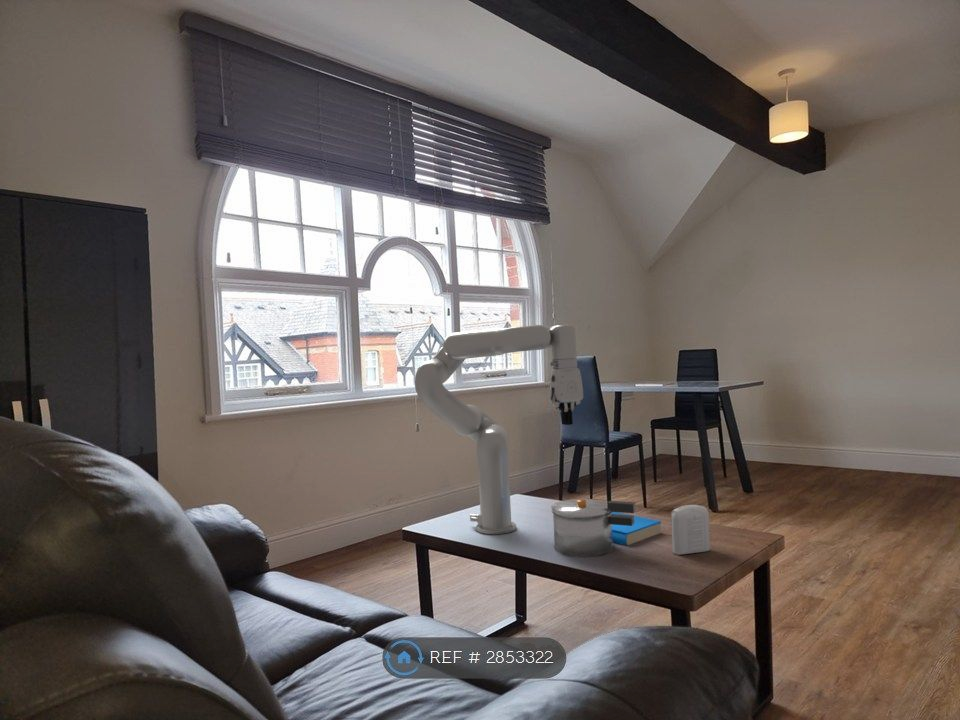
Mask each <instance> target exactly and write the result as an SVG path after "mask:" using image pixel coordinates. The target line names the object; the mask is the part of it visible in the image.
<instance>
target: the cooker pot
mask: <svg viewBox="0 0 960 720" xmlns="http://www.w3.org/2000/svg"><path fill="white" fill-rule="evenodd" d="M552 515H553V517H552V518H553V538H554V539H553V540H554V542H553V543H554V544H553V545H554V550H555V551H556V552H557V551H558V552H557V553H559V552H560V553H559V554H561V553H562V555H564V554H565V555H564V556H569V555H570V557H576V556H577V557H578V558H579V557H581V558H589V557H598V556H604V555H606V554H609V553H611V552H612V551H613V549H614V542H613V536H612V524H613V525H626V526H632V525H633V524H634V516H635V515H633V516H632V514H628V515H618V514H612V513H611V514H609V515H606V516H603V517H597V518H586V519H577V518H566V517H561V516H557V515H555V514H553V513H552Z"/></svg>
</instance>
